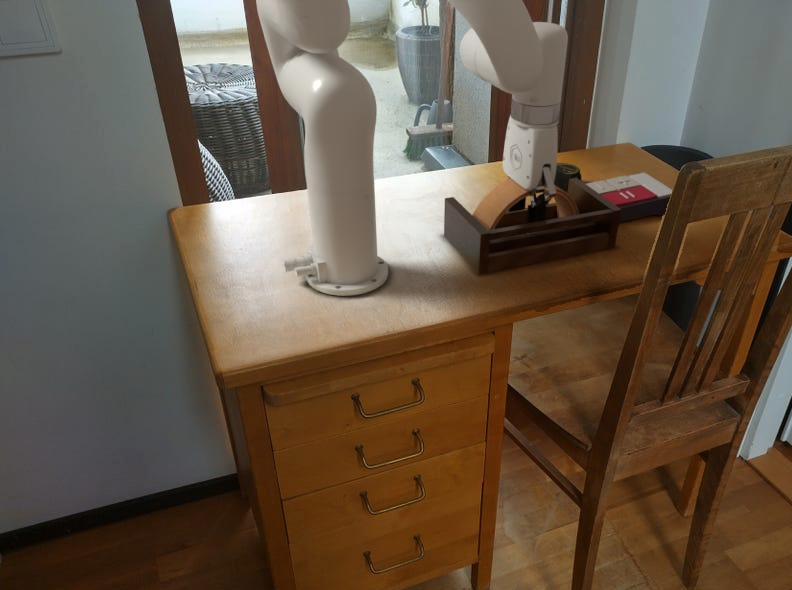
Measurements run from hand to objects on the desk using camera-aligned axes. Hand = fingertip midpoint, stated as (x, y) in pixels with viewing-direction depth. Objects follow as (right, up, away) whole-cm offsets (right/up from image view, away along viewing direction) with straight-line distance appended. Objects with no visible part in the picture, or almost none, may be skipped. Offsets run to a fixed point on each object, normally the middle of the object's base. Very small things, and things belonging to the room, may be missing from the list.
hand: (525, 217), depth 121 cm
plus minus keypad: (+20, +4, +13) cm, 25 cm away
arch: (0, -3, +2) cm, 4 cm away
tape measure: (+9, +10, +20) cm, 24 cm away
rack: (+1, -4, +1) cm, 4 cm away
